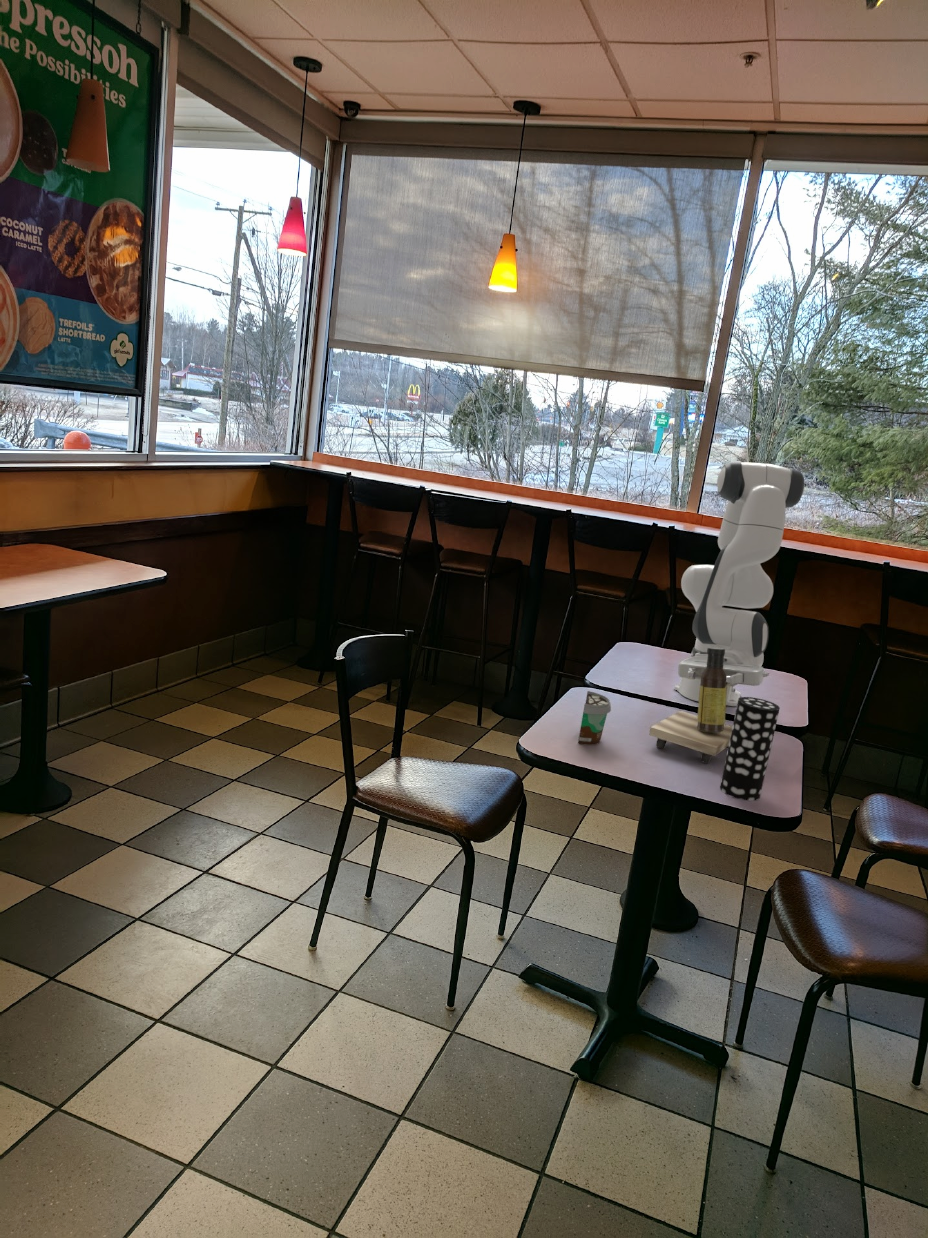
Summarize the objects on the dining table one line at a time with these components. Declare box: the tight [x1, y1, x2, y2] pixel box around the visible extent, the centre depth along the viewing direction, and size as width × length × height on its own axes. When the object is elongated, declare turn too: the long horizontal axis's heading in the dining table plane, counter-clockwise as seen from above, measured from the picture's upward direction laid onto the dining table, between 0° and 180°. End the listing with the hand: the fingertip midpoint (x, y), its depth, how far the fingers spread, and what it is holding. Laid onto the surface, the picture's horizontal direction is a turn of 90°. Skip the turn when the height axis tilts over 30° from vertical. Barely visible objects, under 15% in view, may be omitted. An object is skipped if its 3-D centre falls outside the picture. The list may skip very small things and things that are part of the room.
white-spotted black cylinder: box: [719, 696, 781, 802], centre depth 182 cm, size 8×8×20 cm
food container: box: [577, 690, 612, 746], centre depth 204 cm, size 12×6×10 cm, turn 168°
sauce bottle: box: [697, 647, 727, 733], centre depth 205 cm, size 6×6×20 cm
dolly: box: [648, 710, 733, 764], centre depth 209 cm, size 20×16×5 cm
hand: (709, 678), depth 205 cm, fingers open, 8 cm apart
